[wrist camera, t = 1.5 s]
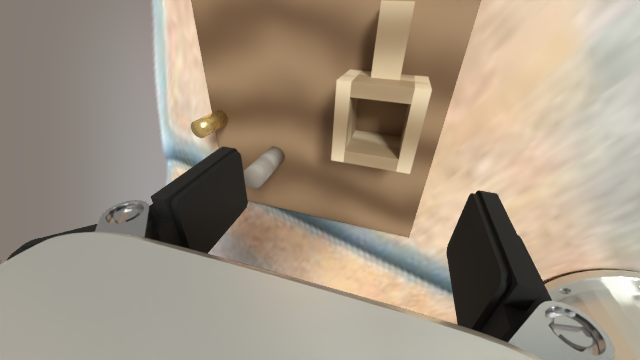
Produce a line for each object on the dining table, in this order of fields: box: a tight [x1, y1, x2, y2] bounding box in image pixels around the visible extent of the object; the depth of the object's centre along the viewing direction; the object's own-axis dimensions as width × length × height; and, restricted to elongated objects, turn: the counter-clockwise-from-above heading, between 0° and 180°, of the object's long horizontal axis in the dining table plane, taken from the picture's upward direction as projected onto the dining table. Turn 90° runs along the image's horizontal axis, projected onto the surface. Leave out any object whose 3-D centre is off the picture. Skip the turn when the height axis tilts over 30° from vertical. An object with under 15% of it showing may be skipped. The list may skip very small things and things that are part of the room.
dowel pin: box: [191, 110, 228, 138], centre depth 26 cm, size 2×2×4 cm
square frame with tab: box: [331, 0, 432, 174], centre depth 19 cm, size 10×6×4 cm, turn 177°
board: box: [191, 0, 481, 237], centre depth 23 cm, size 22×22×6 cm
